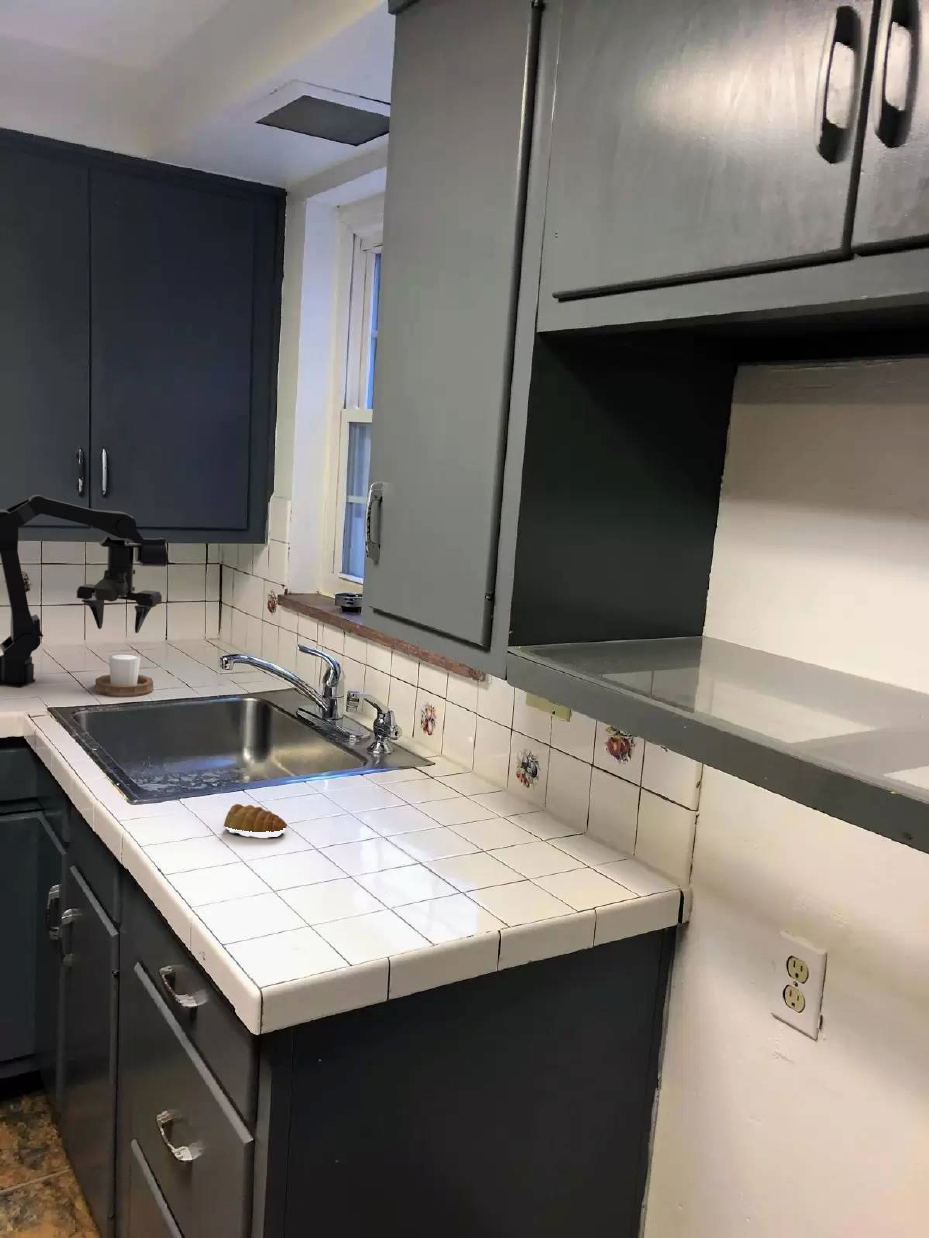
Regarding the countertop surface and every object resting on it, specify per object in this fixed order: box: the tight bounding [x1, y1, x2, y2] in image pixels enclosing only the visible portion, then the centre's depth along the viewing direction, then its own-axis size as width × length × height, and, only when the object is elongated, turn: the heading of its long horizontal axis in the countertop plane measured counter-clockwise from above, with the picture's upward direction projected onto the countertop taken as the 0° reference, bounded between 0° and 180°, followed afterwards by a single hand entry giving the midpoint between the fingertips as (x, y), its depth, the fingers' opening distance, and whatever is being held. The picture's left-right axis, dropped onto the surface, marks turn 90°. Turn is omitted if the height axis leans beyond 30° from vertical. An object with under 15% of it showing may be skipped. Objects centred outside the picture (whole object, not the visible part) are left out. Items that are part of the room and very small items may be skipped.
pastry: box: [223, 803, 288, 832], centre depth 154 cm, size 9×7×4 cm
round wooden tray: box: [93, 674, 155, 698], centre depth 227 cm, size 13×13×2 cm
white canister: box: [108, 653, 141, 686], centre depth 227 cm, size 7×7×7 cm
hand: (118, 630), depth 233 cm, fingers open, 9 cm apart
